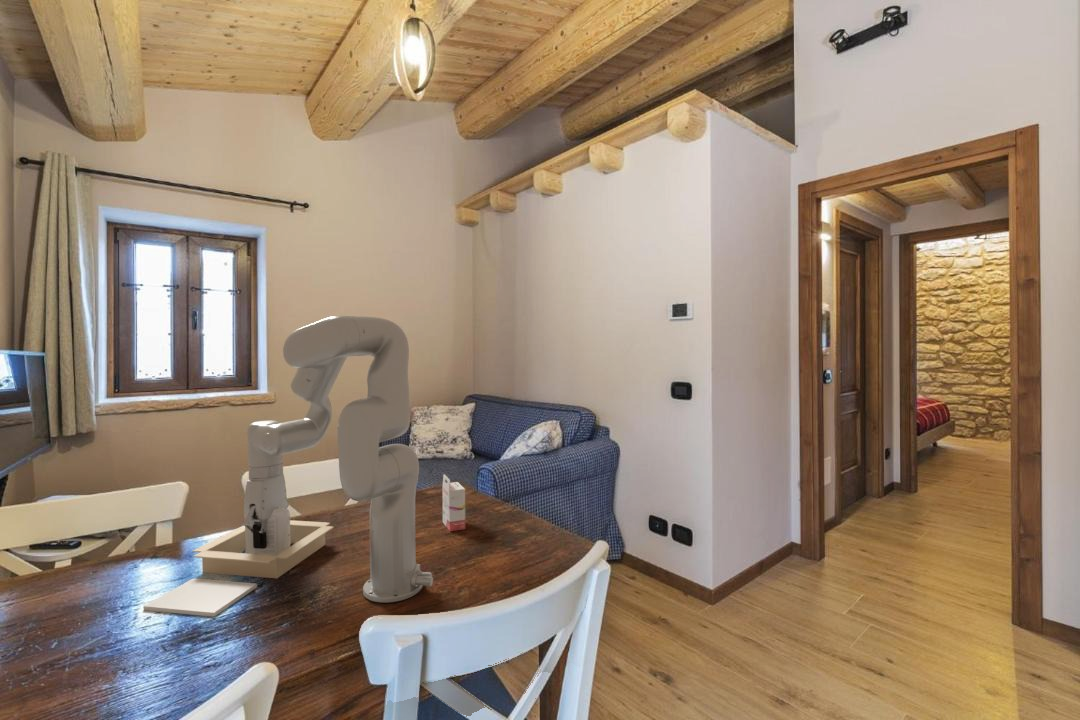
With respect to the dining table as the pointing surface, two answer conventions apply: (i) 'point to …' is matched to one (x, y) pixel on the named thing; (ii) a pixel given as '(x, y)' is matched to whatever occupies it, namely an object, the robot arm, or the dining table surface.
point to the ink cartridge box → (453, 505)
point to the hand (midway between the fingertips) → (268, 542)
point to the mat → (201, 597)
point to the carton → (229, 560)
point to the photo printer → (272, 534)
